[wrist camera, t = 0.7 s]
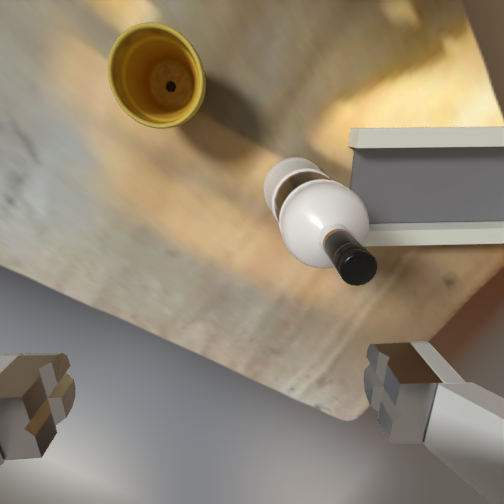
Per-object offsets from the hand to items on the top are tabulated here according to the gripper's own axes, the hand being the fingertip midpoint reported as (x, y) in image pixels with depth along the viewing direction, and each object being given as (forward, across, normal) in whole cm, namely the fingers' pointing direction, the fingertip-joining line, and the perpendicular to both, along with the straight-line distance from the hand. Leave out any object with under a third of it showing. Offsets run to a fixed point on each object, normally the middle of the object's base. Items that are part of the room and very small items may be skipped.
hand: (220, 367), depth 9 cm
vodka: (+43, -9, +2) cm, 44 cm away
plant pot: (+42, +8, -12) cm, 45 cm away
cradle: (+43, -32, +2) cm, 53 cm away
